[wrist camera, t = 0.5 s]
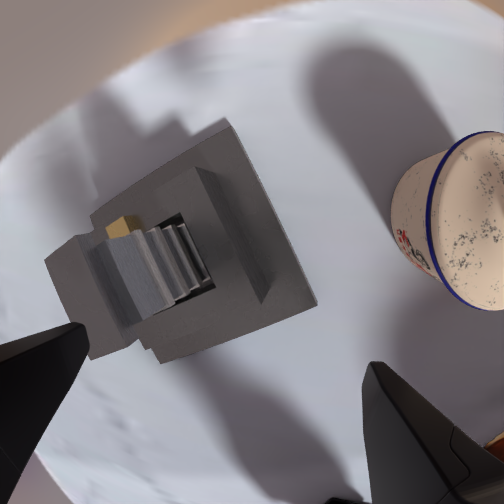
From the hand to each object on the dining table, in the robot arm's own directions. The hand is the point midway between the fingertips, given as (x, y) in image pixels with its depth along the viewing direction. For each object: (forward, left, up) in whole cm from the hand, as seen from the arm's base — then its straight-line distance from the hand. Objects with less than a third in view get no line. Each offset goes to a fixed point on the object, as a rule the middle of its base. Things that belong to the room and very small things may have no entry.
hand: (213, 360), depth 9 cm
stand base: (-2, +6, -15) cm, 16 cm away
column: (-2, +6, -14) cm, 15 cm away
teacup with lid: (+9, -11, -15) cm, 21 cm away
